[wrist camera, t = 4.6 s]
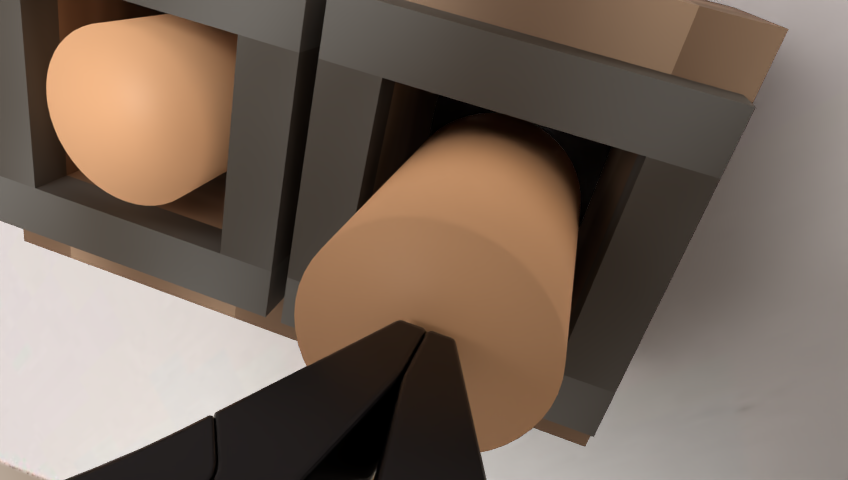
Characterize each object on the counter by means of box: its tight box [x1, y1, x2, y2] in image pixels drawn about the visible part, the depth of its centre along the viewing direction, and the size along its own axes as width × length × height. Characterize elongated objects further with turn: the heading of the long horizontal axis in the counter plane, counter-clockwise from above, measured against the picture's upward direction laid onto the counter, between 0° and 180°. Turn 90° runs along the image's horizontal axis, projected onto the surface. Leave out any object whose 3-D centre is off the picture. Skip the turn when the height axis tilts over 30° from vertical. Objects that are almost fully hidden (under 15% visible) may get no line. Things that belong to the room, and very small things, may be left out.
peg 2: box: [294, 113, 581, 452], centre depth 11 cm, size 4×4×6 cm
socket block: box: [0, 0, 788, 446], centre depth 15 cm, size 16×10×6 cm, turn 77°
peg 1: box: [46, 14, 238, 206], centre depth 16 cm, size 4×4×6 cm
